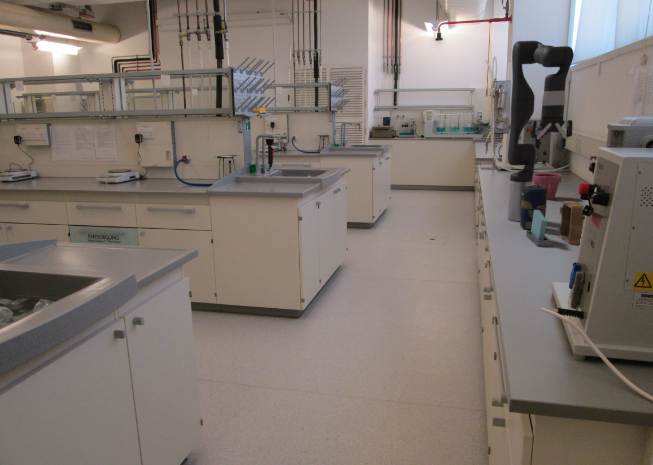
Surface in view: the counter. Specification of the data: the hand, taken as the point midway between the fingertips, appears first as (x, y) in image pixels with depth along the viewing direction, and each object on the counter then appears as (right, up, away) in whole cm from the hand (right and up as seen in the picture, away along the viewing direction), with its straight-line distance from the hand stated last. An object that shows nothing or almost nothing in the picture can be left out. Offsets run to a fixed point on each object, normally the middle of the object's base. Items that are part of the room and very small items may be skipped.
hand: (549, 148), depth 184 cm
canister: (+1, -30, +19) cm, 35 cm away
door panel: (-5, -33, 0) cm, 33 cm away
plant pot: (+36, -13, +85) cm, 93 cm away
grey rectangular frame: (-5, -34, -1) cm, 35 cm away
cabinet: (+7, -34, -2) cm, 35 cm away
